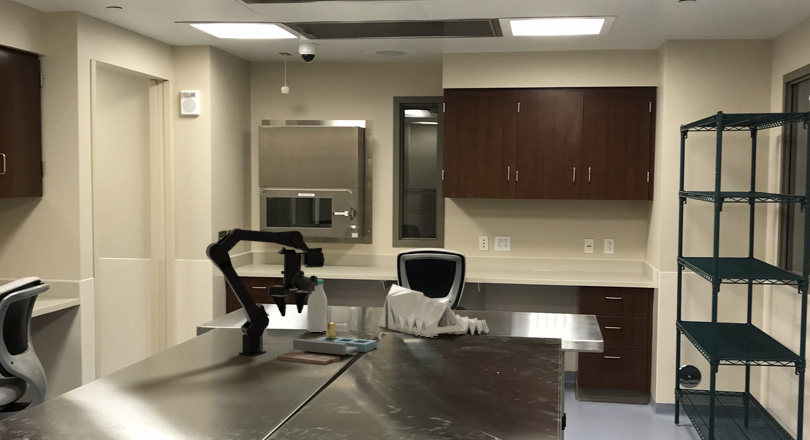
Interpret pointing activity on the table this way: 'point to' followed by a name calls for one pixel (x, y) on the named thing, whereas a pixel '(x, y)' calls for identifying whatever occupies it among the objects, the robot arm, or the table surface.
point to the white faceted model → (423, 315)
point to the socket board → (354, 343)
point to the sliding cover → (322, 346)
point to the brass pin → (331, 331)
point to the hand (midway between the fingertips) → (291, 314)
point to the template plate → (308, 358)
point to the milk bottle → (317, 309)
